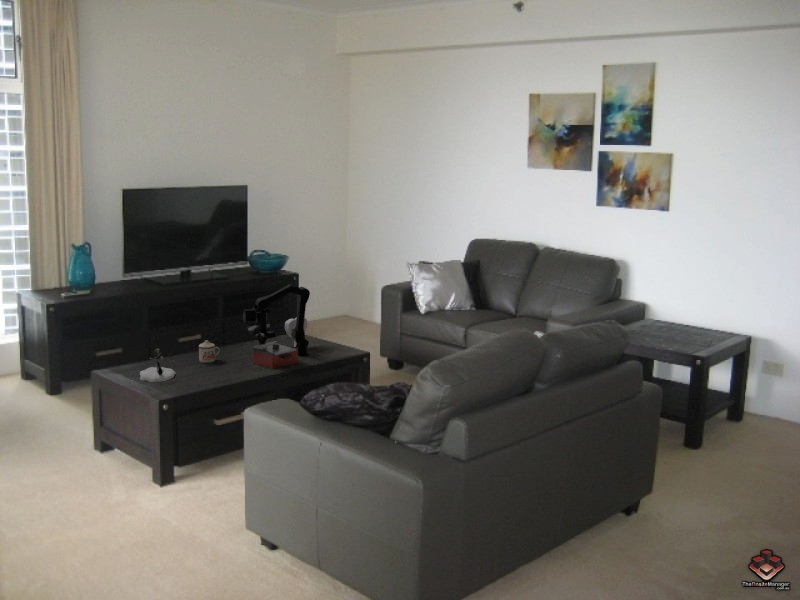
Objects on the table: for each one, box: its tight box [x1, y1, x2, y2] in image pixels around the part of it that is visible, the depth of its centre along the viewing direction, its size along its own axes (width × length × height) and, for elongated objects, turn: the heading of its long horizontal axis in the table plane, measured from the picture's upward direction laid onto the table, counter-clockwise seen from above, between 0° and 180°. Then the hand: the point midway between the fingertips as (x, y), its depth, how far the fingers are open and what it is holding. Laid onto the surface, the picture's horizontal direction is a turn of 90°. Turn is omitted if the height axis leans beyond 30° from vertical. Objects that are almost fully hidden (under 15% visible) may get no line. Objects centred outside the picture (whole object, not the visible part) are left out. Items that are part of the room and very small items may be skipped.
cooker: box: [253, 342, 299, 370], centre depth 488 cm, size 19×18×9 cm
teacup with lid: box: [198, 340, 221, 364], centre depth 489 cm, size 12×9×12 cm
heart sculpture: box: [284, 316, 308, 347], centre depth 520 cm, size 16×5×18 cm, turn 142°
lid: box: [253, 340, 296, 355], centre depth 488 cm, size 16×18×5 cm
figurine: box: [139, 348, 177, 383], centre depth 456 cm, size 20×18×16 cm
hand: (261, 347), depth 496 cm, fingers closed
